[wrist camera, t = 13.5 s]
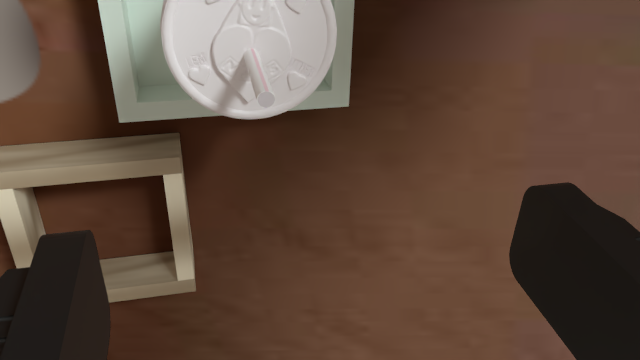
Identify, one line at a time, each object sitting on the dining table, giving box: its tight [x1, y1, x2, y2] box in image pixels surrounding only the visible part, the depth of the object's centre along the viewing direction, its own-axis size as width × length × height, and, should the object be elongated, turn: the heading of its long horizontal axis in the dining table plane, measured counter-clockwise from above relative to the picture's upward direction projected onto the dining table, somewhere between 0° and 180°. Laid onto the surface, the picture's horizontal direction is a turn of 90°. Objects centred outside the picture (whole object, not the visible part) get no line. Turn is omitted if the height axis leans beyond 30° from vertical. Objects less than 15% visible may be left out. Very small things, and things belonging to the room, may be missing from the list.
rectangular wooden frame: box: [0, 133, 196, 303], centre depth 33 cm, size 10×10×3 cm
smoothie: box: [160, 0, 337, 119], centre depth 22 cm, size 6×6×14 cm
